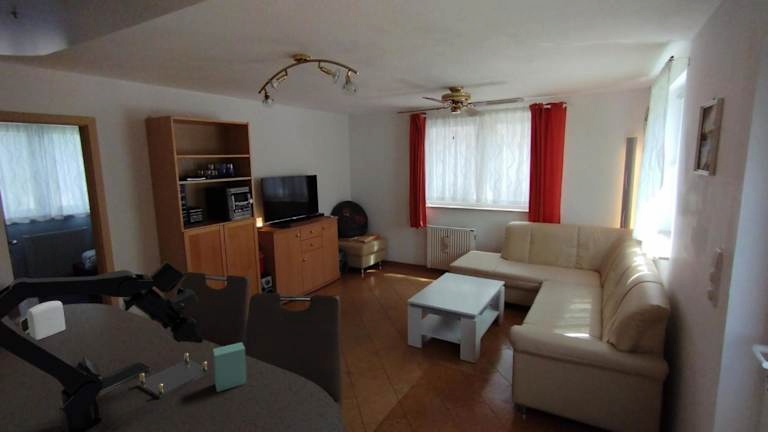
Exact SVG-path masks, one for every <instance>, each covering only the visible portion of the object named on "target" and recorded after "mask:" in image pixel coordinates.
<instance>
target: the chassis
mask: <svg viewBox="0 0 768 432" xmlns="http://www.w3.org/2000/svg"><path fill="white" fill-rule="evenodd" d="M183 356H184V357H183V358H184V359H183V360H182V361H180V362H178V363H176V364H174V365H171V366H170V367H167V368H165V369H163V370H161V371H158V372H156V373H154V374H153V375H150V376H148V377H145V376H146V374H145V373H141V374H140V377H139V381H137V386H138V387H140V388H141V389H142V390H145V391H146V392H148V393H150V394H152V395H153V396H155V397H156V398H157V399H162V398H164V397H166V396H168V395H170V394H172V393H174V392H176V391H178V390H180V389H181V388H183V387H186V386H187V385H189V384H190V383H194V382H195V381H197V380H198V379H200V378H202V377H204V376H206V375H207V374H209V373H210V372H211V369H210V368H208V361H207V360H204V361H203V362H202V364H199V363H198V362H195V361H193V360H191V359H190V357H189V352H185V353H184V354H183Z"/></svg>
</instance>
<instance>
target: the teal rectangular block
mask: <svg viewBox="0 0 768 432" xmlns="http://www.w3.org/2000/svg"><path fill="white" fill-rule="evenodd" d="M212 353H213V354H212V355H213V357H212V358H213V372H214V373H213V374H214V385H215V389H216V392H222V391H225V390H228V389H232V388H235V387H239V386H242V385H247V366H246V365H247V362H246V347H245V346H244V343H243V342H237V343H233V344H228V345H224V346H220V347H215V348H212Z"/></svg>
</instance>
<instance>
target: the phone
mask: <svg viewBox="0 0 768 432" xmlns="http://www.w3.org/2000/svg"><path fill="white" fill-rule="evenodd" d="M151 371H152V370H151V367H150V366H149V365H148V366H147V365H146V364H144V363H142V362H140V361H139V362H138V361H137V362H134V363H132V364H130V365H127V366H125V367H123V368H121V369H118V370H116V371H114V372H112V373H109V374H107V375H104V376H103V377H102V376H101V379H102V382H103V387H102V389H101V391H100V392H99V393H98V394H97V395H96V396H95V397H99V396H101V395H104V394H106V393H108V392H110V391H113V390H114V389H116V388H118V387H121V386H123V385H125V384H128V383H129V382H131V381H134V380H136V379H139V378H140V374H141V373H145V375H146V374H148V373H150V372H151Z"/></svg>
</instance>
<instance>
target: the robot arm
mask: <svg viewBox="0 0 768 432" xmlns="http://www.w3.org/2000/svg"><path fill="white" fill-rule="evenodd" d="M186 277H187V276H186V275H185V274H184V273H182V272H181V271H180V270H179V269H177V268H176V267H174V266H173V265H171V264H170V263H169V262H167V261H164V262H163V263H161V264H160V266H159V267H158V268H156V270H155V271H154V272H152V273H151V274H150V275H149V274H146V273H134V272H132V271H131V270H128V269H127V270H126V269H124V270H123V269H121V270H117V271H116V270H115V271H110V272H106V273H102V274H99V275H92V276H74V277H73V276H68V277H67V276H66V277H64V276H63V277H41V278H39V277H35V278H30V277H29V278H28V277H20V278H16V279H14V280H13V281H12V282H11V283H9V284H8V285H7V286H5V287H3V288H1V289H0V348H1V349H3V350H4V351H7V352H9V353H10V354H12V355H13V356H16V357H17V358H19V359H20V360H23V361H24V362H26V363H27V364H29V365H31V366H33V367H34V368H36V369H39V370H40V371H42V372H43V373H45V374H47V375H49V376H50V377H53V378H54V379H56V380H57V381H58V382H59V383H60V384H61V386H62V387H63V388H62V390H61V391H60V392H59V396H60V402H61V407H59V408H58V414H59V420H60V422H59V423H60V426H58V427H57V431H58V432H86V431H87V430H89V429H91V428H93V427H94V426H96V425H97V424H100V423H101V422H102V421H103V418H102V417H100V415H101V411H100V403H99V400H97V396H96V395H97V394H98V393H99V392H100V391H101V389H102V387H103V382H102V379H101V378H102V373H101V372H100V368H99V366H98V364H96V363H93V362H90V360H88V358H86V357H85V356H84V357H83V358H81V360H80V361H76V360H71V359H69V358H68V357H66V356H64V355H63V354H62V353H59V352H58V351H56V350H54V349H53V348H52V347H50V346H47V345H46V344H45V343H43V342H41V341H40V340H37V339H35V338H33V337H32V336H30V334H28V333H26V331H24V330H22V329H20V328H19V327H17V326H16V324H15V323H14V322H13V320H11V319H10V318H9V316H8V315H9V314H10V313H12V312H13V311H14V310H15V309H17V307H18V306H19V305H21V304H22V303H24V301H26V300H27V299H36V298H39V299H40V298H50V297H51V298H53V297H69V296H83V295H84V296H85V295H96V296H97V295H99V296H104V297H110V298H111V297H112V298H122V306H121V307H122V308H123V310H124V311H125V312H127V311H129V310H130V309H131V308H133V307H135V308H136V309H138V310H139V311H141V312H143V313H144V314H145V315H147V317H149V319H150V320H152V321H153V322H156V323H157V324H159V325H161V327H162V328H164V329H165V330H168V328H170V329H169V336H170V337H171V338H172V339H173V340H174V341H176V342H177V343H181V342H184V343H185V342H186V343H197V344H202V343H203V342H204V339H203V337H202V336H201V334H200V333H199V332H198V331H197V329H196V327H197V325H198V322H197V321H196V320H195V319H193V318H192V317H191V316H190V315H184V316H183V314H185V311H184V310H185V309H187V308H188V307H191V306H192V305H196V304H197V303H198V302H199V298H198V297H197V295H196V293H195V291H193V290H192V289H191V288H186V289H184V288H182V287H180V286H179V287H178V288H177V286H178V285H179V284H180V283H181V282H182V281H183V280H184V279H185V278H186ZM154 288H155V289H156V290H155V289H154ZM157 290H158V291H160V292H161V293H162V294H164V293H167V294H168V293H170V292H172V291H173V290H174V295H172V296H173V297H171V298H168V297H167V296H163V295H161V294H160V293H159V292H158V291H157Z"/></svg>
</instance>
